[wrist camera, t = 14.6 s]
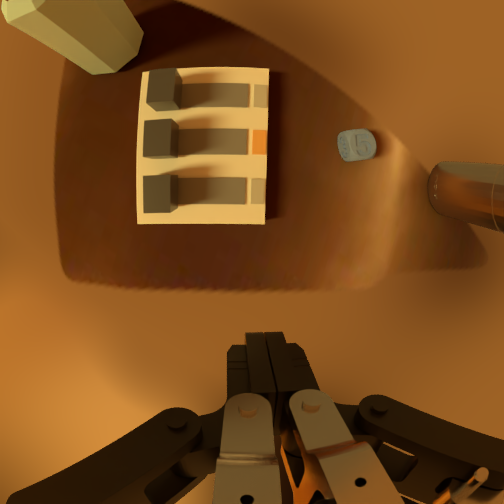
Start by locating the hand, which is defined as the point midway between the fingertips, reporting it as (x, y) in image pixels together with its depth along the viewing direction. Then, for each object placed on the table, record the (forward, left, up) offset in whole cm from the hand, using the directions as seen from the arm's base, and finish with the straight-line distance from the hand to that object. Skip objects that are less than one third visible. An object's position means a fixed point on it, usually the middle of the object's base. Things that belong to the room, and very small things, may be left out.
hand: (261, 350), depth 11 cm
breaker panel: (+5, -11, -27) cm, 30 cm away
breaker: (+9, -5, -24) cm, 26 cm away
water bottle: (+19, -27, -27) cm, 43 cm away
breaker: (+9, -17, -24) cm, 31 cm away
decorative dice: (-15, -12, -27) cm, 33 cm away
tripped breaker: (+9, -11, -24) cm, 28 cm away
